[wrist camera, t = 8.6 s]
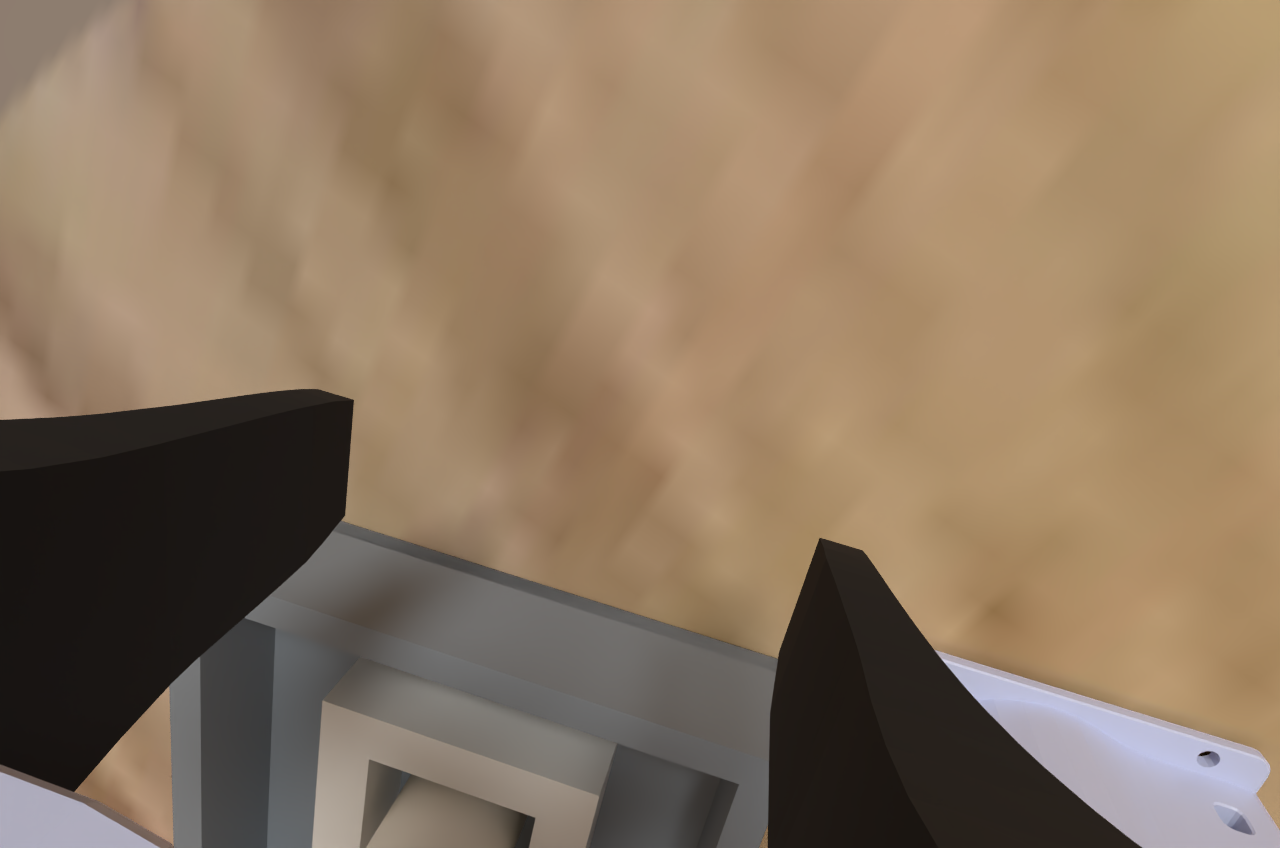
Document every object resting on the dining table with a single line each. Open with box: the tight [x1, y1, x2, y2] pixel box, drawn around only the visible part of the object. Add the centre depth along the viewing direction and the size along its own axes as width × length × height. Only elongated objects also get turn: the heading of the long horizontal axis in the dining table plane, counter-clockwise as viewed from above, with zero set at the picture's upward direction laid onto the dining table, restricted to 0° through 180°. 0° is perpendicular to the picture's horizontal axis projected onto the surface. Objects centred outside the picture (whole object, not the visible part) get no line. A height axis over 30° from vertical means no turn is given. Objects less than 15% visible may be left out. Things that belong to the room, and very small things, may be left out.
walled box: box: [169, 521, 778, 848], centre depth 25 cm, size 17×16×4 cm
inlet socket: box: [312, 657, 618, 848], centre depth 25 cm, size 8×8×3 cm
